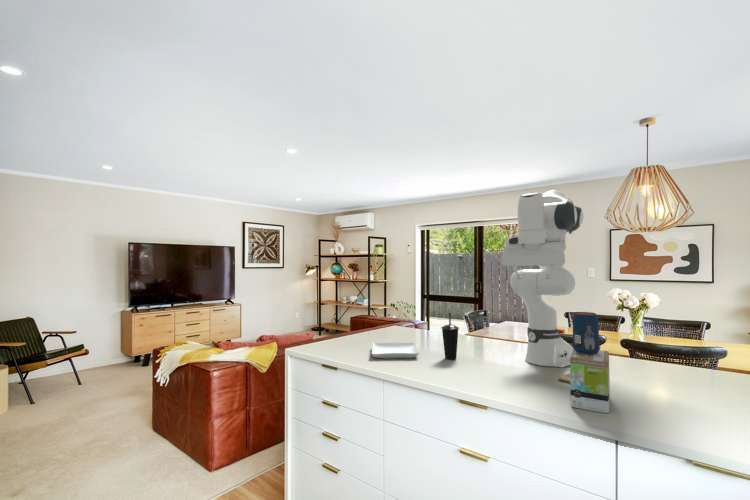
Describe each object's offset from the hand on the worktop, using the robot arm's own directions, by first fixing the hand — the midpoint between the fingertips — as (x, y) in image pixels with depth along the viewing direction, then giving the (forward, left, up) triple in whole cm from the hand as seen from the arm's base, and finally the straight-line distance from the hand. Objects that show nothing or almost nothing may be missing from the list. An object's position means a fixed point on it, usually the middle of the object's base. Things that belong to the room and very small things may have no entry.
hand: (533, 279), depth 131 cm
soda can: (-2, +18, -22) cm, 29 cm away
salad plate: (+26, -60, -37) cm, 75 cm away
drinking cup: (+7, -42, -37) cm, 56 cm away
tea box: (-3, +19, -37) cm, 41 cm away
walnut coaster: (-17, +3, -36) cm, 40 cm away
